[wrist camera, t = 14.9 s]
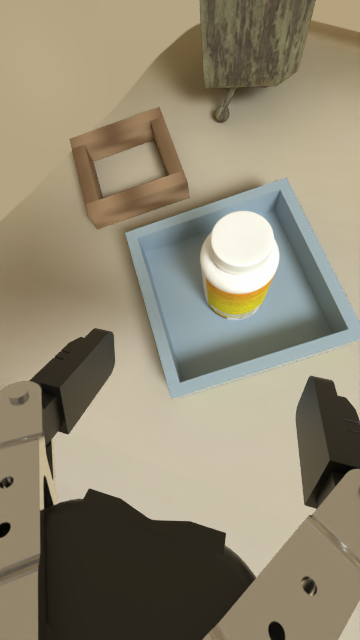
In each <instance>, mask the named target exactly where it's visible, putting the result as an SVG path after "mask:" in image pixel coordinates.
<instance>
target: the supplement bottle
mask: <svg viewBox="0 0 360 640" xmlns="http://www.w3.org/2000/svg"><path fill="white" fill-rule="evenodd" d="M278 264H279V249H278V245H277V243H276V241H275V239H274V234H273V230H272V228H271V225H270V224H269V223H268V221H267V220H266V219H265V218H264V217H262V216H261V215H259V214H257V213H254V212H251V211H235V212H232V213H229V214H227V215H225V216H224V217H222V218H221V219H220V220H219V221H218V222H217V223H216V224H215V226H214V227H213V230H212V232H211V233H210V234H209V235H208V237H207V238H206V240H205V241H204V243H203V245H202V248H201V253H200V265H201V273H202V280H203V287H204V294H205V299H206V302H207V304H208V306H209V308H210V309H211V310H212V311H213V312H214V313H215V314H216V315H218V316H219V317H221V318H224V319H227V320H242V319H245V318H247V317H249V316H251V315H253V314H254V313H255V312H256V311H257V310H258V309H259V308H260V306H261V304H262V303H263V300H264V298H265V296H266V293H267V291H268V289H269V287H270V284H271V282H272V280H273V277H274V275H275V273H276V270H277V267H278Z"/></svg>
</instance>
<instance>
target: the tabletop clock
mask: <svg viewBox="0 0 360 640" xmlns="http://www.w3.org/2000/svg"><path fill="white" fill-rule="evenodd" d="M315 1H316V0H200V17H201V18H200V20H201V39H202V57H203V72H204V82H205V88H228V91H227V94H226V98H225V101H224V105H223V106H220V107H218V109H217V111H216V113H215V114H216V119H217V120H218V121H219V122H225V121H226V120H227V119H228V117H229V109H228V108H227V107H228V105H229V103H230V101H231V99H232V96H233V94H234V92H235V90H236V89H237V87H258V86H263V87H268V86H277V85H278V84H280V83H281V82H283V81H284V80H286V79H287V78H289V77H290V76H291V75H293V74H294V73H296V72H297V70H298V67H299V64H300V60H301V57H302V53H303V49H304V45H305V41H306V37H307V33H308V29H309V25H310V21H311V17H312V13H313V9H314V5H315Z"/></svg>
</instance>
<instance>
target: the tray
mask: <svg viewBox="0 0 360 640" xmlns="http://www.w3.org/2000/svg"><path fill="white" fill-rule="evenodd" d="M235 211H251V212H254V213H257V214H259V215H261V216H262V217H264V218H265V219H266V220H267V221H268V223H269V224H270V225H271V228H272V230H273V234H274V239H275V241H276V243H277V245H278V249H279V264H278V267H277V270H276V273H275V275H274V277H273V280H272V282H271V284H270V287H269V289H268V291H267V293H266V296H265V298H264V300H263V303H262V304H261V306H260V308H259V309H258V310H257V311H256V312H255V313H254V314H253V315H251V316H249V317H247V318H245V319H242V320H227V319H224V318H221V317H219V316H218V315H216V314H215V313H214V312H213V311H212V310H211V309H210V308H209V306H208V304H207V302H206V299H205V294H204V287H203V280H202V273H201V265H200V253H201V248H202V245H203V243H204V241H205V240H206V238H207V237H208V235H209V234H210V233H211V232H212V230H213V227H214V226H215V224H216V223H217V222H218V221H219V220H220V219H221V218H222V217H224V216H225V215H227V214H229V213H232V212H235ZM125 235H126V238H127V242H128V245H129V249H130V252H131V256H132V260H133V263H134V267H135V270H136V274H137V277H138V281H139V285H140V288H141V292H142V295H143V299H144V303H145V306H146V310H147V313H148V317H149V320H150V324H151V328H152V331H153V335H154V338H155V342H156V345H157V349H158V353H159V356H160V360H161V363H162V367H163V370H164V374H165V378H166V381H167V385H168V388H169V392H170V395H171V399H179V398H182V397H185V396H189V395H192V394H195V393H198V392H201V391H205V390H208V389H211V388H214V387H217V386H220V385H224V384H227V383H230V382H233V381H236V380H240V379H243V378H246V377H249V376H252V375H255V374H259V373H262V372H265V371H268V370H271V369H274V368H278V367H281V366H284V365H287V364H290V363H294V362H297V361H300V360H303V359H306V358H309V357H313V356H316V355H319V354H322V353H325V352H328V351H332V350H335V349H338V348H341V347H344V346H347V345H349V344H352V343H354V342H356V341H359V340H360V322H359V320H358V318H357V316H356V314H355V312H354V310H353V308H352V306H351V304H350V302H349V300H348V298H347V296H346V295H345V293H344V291H343V289H342V287H341V285H340V283H339V281H338V279H337V277H336V275H335V273H334V271H333V269H332V267H331V265H330V263H329V261H328V259H327V257H326V255H325V253H324V251H323V249H322V247H321V245H320V243H319V241H318V239H317V237H316V235H315V233H314V231H313V229H312V227H311V225H310V223H309V221H308V219H307V217H306V215H305V213H304V211H303V209H302V207H301V205H300V203H299V201H298V199H297V197H296V195H295V193H294V192H293V190H292V188H291V186H290V184H289V182H288V180H287V178H284V179H281V180H278V181H275V182H272V183H269V184H266V185H263V186H260V187H257V188H254V189H251V190H249V191H246V192H243V193H240V194H237V195H234V196H231V197H228V198H225V199H222V200H219V201H216V202H213V203H211V204H208V205H205V206H202V207H199V208H196V209H193V210H190V211H187V212H184V213H181V214H178V215H175V216H172V217H170V218H167V219H164V220H161V221H158V222H155V223H152V224H149V225H146V226H143V227H140V228H137V229H134V230H132V231H129V232H126V233H125Z"/></svg>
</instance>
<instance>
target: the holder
mask: <svg viewBox="0 0 360 640" xmlns="http://www.w3.org/2000/svg"><path fill="white" fill-rule="evenodd" d="M152 140H155V141H156V144H157V147H158V150H159V153H160V155H161V158H162V161H163V164H164V167H165V170H166V172H167V175H168V176H166V177H163V178H160V179H157V180H154V181H151V182H149V183H146V184H143V185H140V186H137V187H134V188H131V189H128V190H126V191H123V192H120V193H117V194H114V195H111V196H108V197H106V198H103V197H102V193H101V189H100V185H99V181H98V178H97V174H96V170H95V166H94V162H93V161H96V160H99V159H101V158H104V157H107V156H110V155H113V154H115V153H118V152H121V151H124V150H127V149H130V148H132V147H135V146H138V145H141V144H144V143H146V142H149V141H152ZM70 142H71V147H72V151H73V155H74V159H75V163H76V167H77V172H78V176H79V180H80V184H81V188H82V192H83V196H84V201H85V205H86V209H87V213H88V216H89V218H90V219H91V221H92V222H93V223H94V225H95V226H96V228H97V229H99V228H102V227H105V226H108V225H111V224H114V223H117V222H120V221H123V220H126V219H128V218H131V217H134V216H137V215H140V214H143V213H146V212H149V211H152V210H155V209H158V208H160V207H163V206H166V205H169V204H172V203H175V202H178V201H181V200H184V199H187V198H190V196H189V189H188V182H187V179H186V177H185V174H184V171H183V169H182V166H181V163H180V161H179V158H178V155H177V153H176V150H175V147H174V145H173V142H172V139H171V137H170V134H169V131H168V129H167V126H166V123H165V121H164V118H163V115H162V113H161V110H160V108H159V107H158V108H155V109H152V110H149V111H147V112H144V113H141V114H138V115H135V116H133V117H130V118H127V119H124V120H121V121H119V122H116V123H113V124H110V125H108V126H105V127H102V128H99V129H96V130H94V131H91V132H88V133H85V134H83V135H80V136H77V137H74V138H71V139H70Z"/></svg>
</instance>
